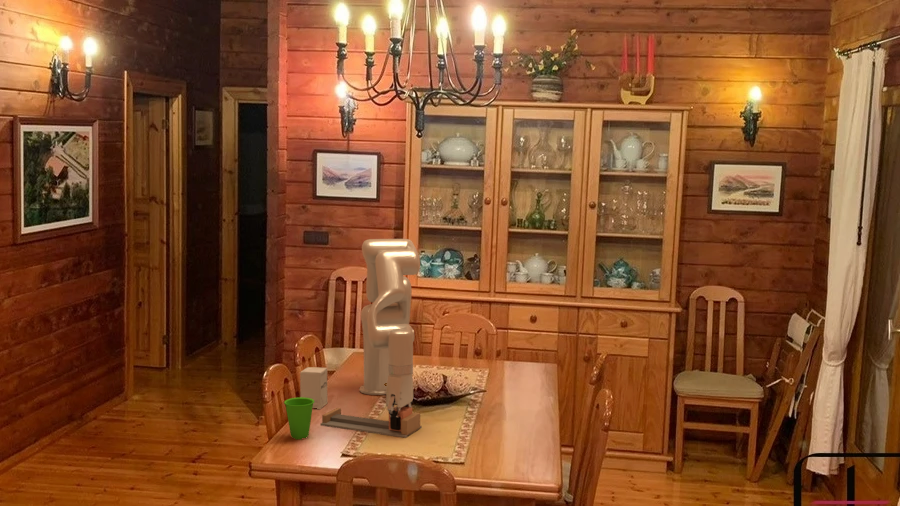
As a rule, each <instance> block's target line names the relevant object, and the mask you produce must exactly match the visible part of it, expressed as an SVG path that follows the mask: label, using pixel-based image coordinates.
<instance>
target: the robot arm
mask: <svg viewBox="0 0 900 506" xmlns="http://www.w3.org/2000/svg"><path fill="white" fill-rule="evenodd" d="M361 253H362V257H363V260H364V261H365V265H366V283H365V284H366V285H365V286H366V289H365V290H366V291H365V294H366V298H367V300H368V302H369V303H371V304H367V305H365V306H363V308H362V309H361V311H360V320H361V326H362V327H361V328H362V335H363V337H362V339H363V385H360V387H359V392H360V393H361V394H365V395H372V396H379V395H380V396H383V395H385V396H386V397H385V406H386V410H387V412H388V415H389V414H390V428H391V429H394V430H400V417H399V415H400V409H401V408H402V407H412V404H413V399H414V396H415V395H414V378H413V375H414V342H415V330H414V328H413V326H411V325H410V320H411V309H412V283H411V281H410V279H409V278H408V277H406V276H414V275H417V274H418V273H419V272H420V269H421V260H420V254H419V252H418V249H417V248H416V246H415V244H414V242H413V241H412V240H411V239H409V238H369V239H366V240H364V241H363V242H362V245H361ZM385 383H387V386H385V385H384V384H385ZM394 409H397V413H396V411H395V410H394Z"/></svg>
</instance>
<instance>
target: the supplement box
mask: <svg viewBox="0 0 900 506" xmlns="http://www.w3.org/2000/svg"><path fill="white" fill-rule="evenodd" d="M299 374H300V375H299V377H300V378H299V381H300V383H299V384H300V385H299V387H300V392H299V393H300V396H299V397H305V398H311V399H313V400H314V401H315V402H314V403H313V408H317V409H316V410H321V409H322V408H324V406H326V405H327V404H328V367H317V366H316V367H314V366H313V367H312V366H308V367H306V368H304V369H303V370H301V371H300V372H299Z"/></svg>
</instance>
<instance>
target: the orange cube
mask: <svg viewBox="0 0 900 506" xmlns="http://www.w3.org/2000/svg"><path fill="white" fill-rule="evenodd" d="M394 410H395V411H396V413H397V409H394ZM412 413H413V407H412V406H411V407H402V408H401V409H400V415H399V417H400V430H394V429H391V428H390V414H389V413H388V421H389V430H394V431H401V420H402V419H404V418H406V417H407V416H409V415H411V414H412Z"/></svg>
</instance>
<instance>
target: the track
mask: <svg viewBox="0 0 900 506" xmlns="http://www.w3.org/2000/svg"><path fill="white" fill-rule="evenodd" d="M321 419H322V420H321V423H320V426H322V425H325V426H324V427H329V426H331V427H330V428H336V427H337V429H344V430H350V431H356V430H359V431H358V432H363V431H365V432H366V433H371V434H378V435H384V436H390V437H397V438H403V437H404V439H406V438H408V437H409V436H411V435H413V434H414V433H416V432H418V431H419V430H421V429H422V425H421V412H416V411H414V412H412V414H411V415H409V416H407V417H406V418H404V419H402V420H401V431H394V430H389V420H383V419H375V418H369V417H361V416H356V415H354V416H353V415H345V414H342V408H341V407H336V408H334V409H331V410H329V411H328V412H325V413H323V414H322V417H321ZM365 432H364V433H365Z"/></svg>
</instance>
